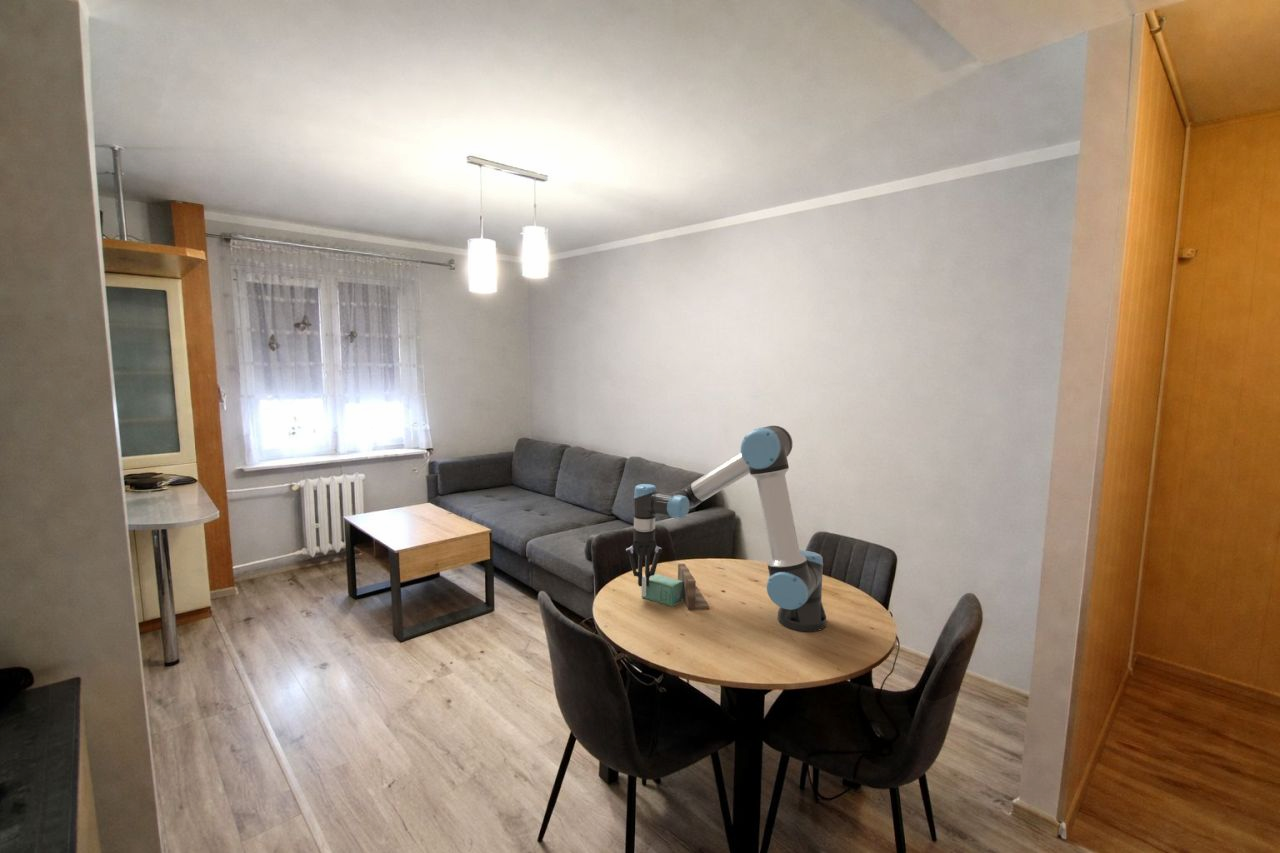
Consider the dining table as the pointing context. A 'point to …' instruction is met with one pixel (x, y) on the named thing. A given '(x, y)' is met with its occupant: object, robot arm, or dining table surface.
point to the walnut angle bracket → (691, 590)
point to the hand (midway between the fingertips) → (643, 594)
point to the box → (664, 590)
